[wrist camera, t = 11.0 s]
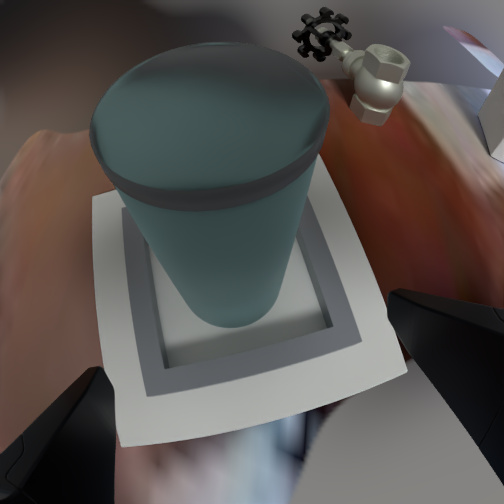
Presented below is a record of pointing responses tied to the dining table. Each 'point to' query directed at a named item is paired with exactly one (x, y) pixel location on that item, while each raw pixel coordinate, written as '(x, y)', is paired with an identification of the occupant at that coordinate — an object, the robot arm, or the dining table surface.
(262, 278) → the cup
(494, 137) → the milk carton
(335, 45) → the valve
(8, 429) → the dining table surface
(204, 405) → the dock
